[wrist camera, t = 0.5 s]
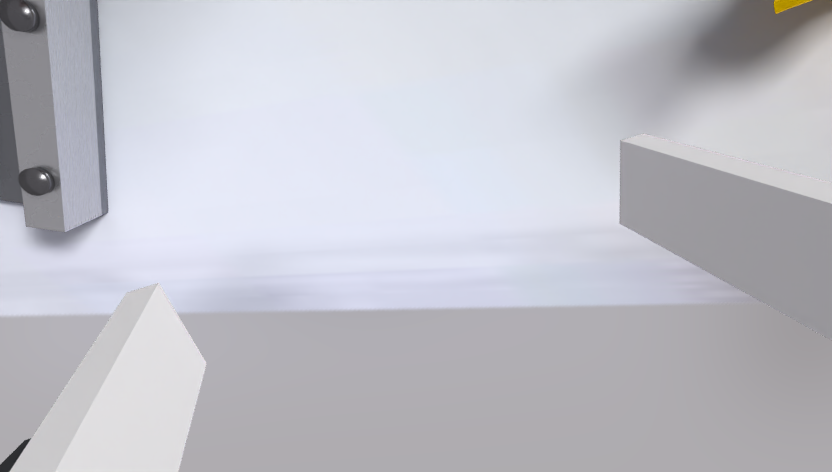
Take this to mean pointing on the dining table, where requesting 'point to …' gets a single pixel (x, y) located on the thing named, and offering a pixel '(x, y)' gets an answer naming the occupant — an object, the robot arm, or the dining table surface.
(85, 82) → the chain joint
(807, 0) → the yellow piece
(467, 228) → the dining table surface
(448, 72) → the dining table surface
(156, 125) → the dining table surface
